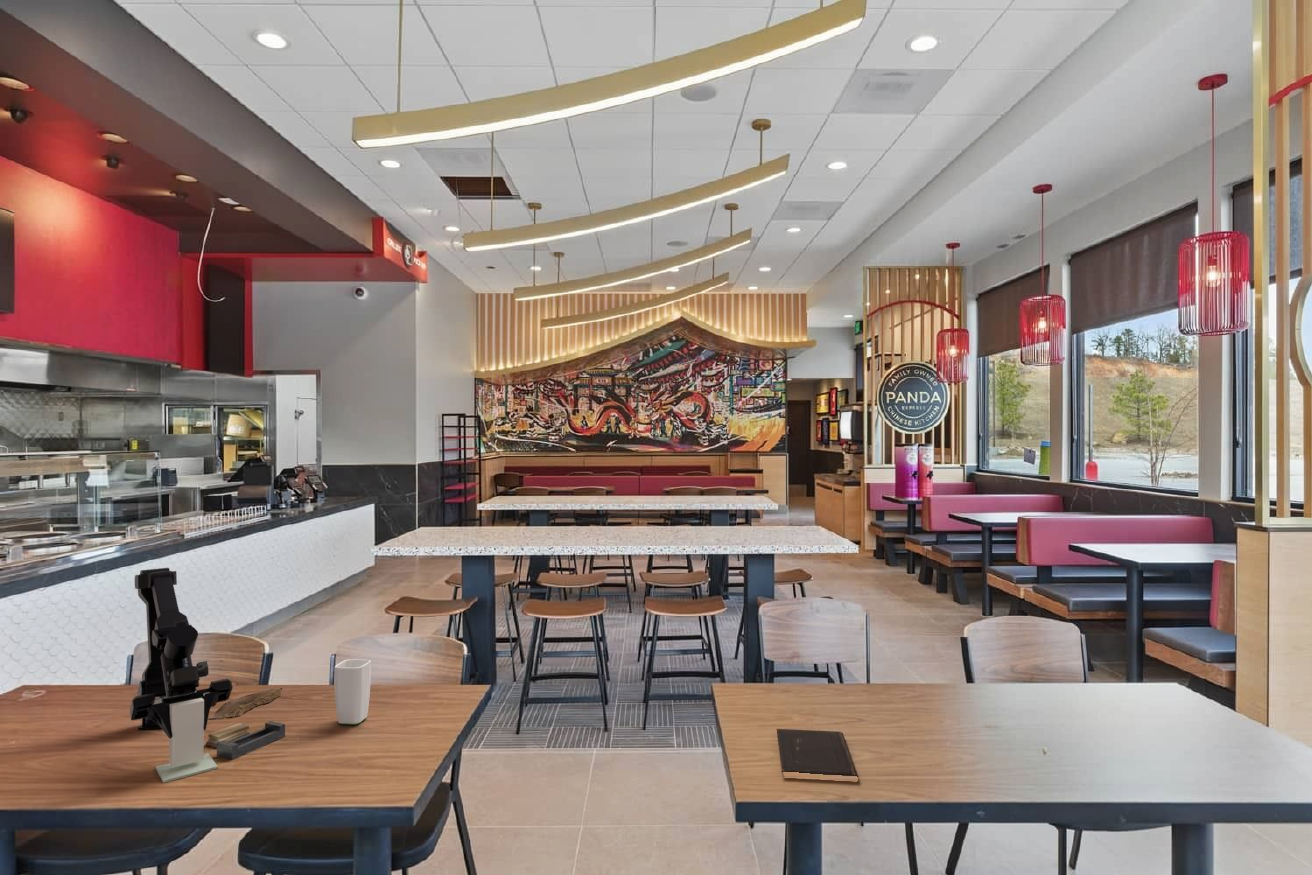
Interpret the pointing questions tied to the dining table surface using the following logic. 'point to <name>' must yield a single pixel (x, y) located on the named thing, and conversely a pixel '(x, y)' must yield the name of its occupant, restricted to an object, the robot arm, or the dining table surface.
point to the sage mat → (185, 769)
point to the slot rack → (251, 741)
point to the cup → (352, 690)
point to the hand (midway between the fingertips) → (188, 733)
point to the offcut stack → (227, 734)
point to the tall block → (186, 732)
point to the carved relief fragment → (245, 704)
